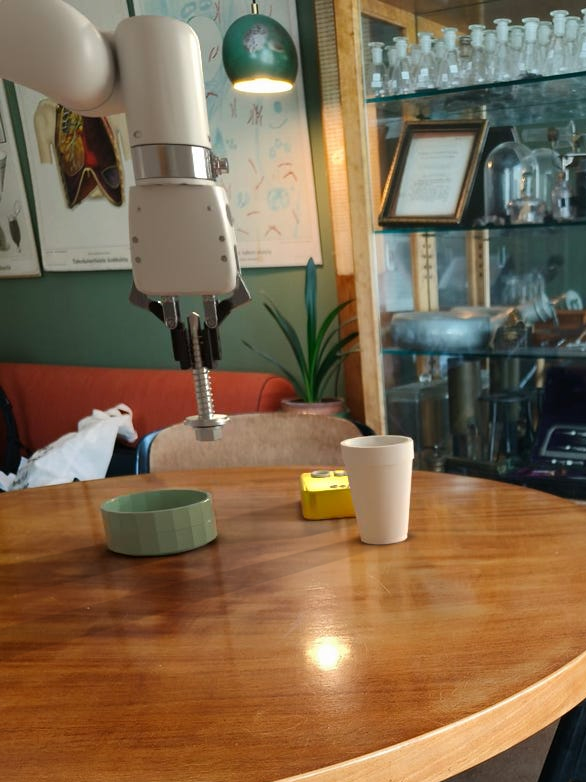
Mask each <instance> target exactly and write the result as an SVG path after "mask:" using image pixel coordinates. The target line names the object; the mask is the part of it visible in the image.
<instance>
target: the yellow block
mask: <svg viewBox="0 0 586 782" xmlns="http://www.w3.org/2000/svg"><path fill="white" fill-rule="evenodd" d="M298 485H299V495H300V503H301V504H300V505H301V513H302V517H303V518H304V519H306V520H311V521H317V520H318V521H319V520H331V519H341V518H356V515H355V510H354V506H353V501H352V496H351V492H350V487H349V483H348V478H347V473H346V469H341V470H327V469H319V470H314V471H311V472H304V473H301V474H300V475H299V476H298Z"/></svg>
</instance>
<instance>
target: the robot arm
mask: <svg viewBox="0 0 586 782" xmlns="http://www.w3.org/2000/svg"><path fill="white" fill-rule="evenodd" d="M201 54H202V53H201V47H200V41H199V38H198V35H197V34H196V32H195V30H194V29H193V28H192V27H191V26H190V25H189V24H188V23H186V22H185V21H182V20H179V19H178V18H174V17H170V16H164V15H156V14H155V15H154V14H141V15H139V14H138V15H133V16H130V17H126V18H124V19H122V20H121V21H119V22H118V24H117V26H116V28H115V29H114V31H113V30H106V29H103V28H101V27H100V26H97V25H94V24H93V23H92V22H91V20H90V19H88V18H87V17H86V16H85V15H83V14H82V13H81V12H80V11H79V10H78V9H76V8H75V7H74V6H72V5H70V4H69V3H68V2H66V1H64V0H0V78H1V79H4V80H6V81H9V82H12V83H14V84H17V85H20V86H22V87H25V88H27V89H30V90H32V91H35V92H37V93H39V94H41V95H43V96H45V97H47V98H49V99H50V100H52V101H54V102H55V103H57V104H58V105H60V106H61V107H63V108H65V109H67V110H69V111H71V113H75V114H76V115H79V116H82V117H89V118H102V117H109V116H110V117H111V116H115V115H121V114H124V115H125V121H126V128H127V135H128V142H129V148H130V156H131V162H132V163H131V164H132V170H133V176H134V184H135V185H131V186H129V187H128V209H127V210H128V213H127V214H128V239H129V252H130V253H129V254H130V262H131V264H130V265H131V270H132V280H131V281H132V282H131V286H130V288H129V293H128V297H127V298H128V299H127V301H128V303H129V304H130V305H131V306H134V307H137V308H139V309H141V310H144V311H147V312H150V313H152V314H153V315H154V316H155V318H157V319H158V320H159V321H160V322H162V323H163V324H164V325H165V327H166V328H167V329H169V331H170V338H171V345H172V352H173V353H172V354H173V359H174V361H175V362H179V366H180V370H181V371H188V370H191V369H192V364H190V363H192V361H191V358H189V357H191V353H190V352H189V351H190V347H189V346H188V345H189V340H188V339H189V331H188V327H186V323H185V321H183V312H182V305H181V298H180V296H201V300H202V307H203V308H202V309H203V315H204V322H203V328H202V329H201V333H202V341H203V349H204V357H205V364H206V368H208V370H215V369H217V368H218V367H219V362H218V361H222V360H223V351H222V342H221V335H220V334H221V333H220V327H221V326H222V325H223V322H224V321H225V320H226V319H227V318H228V316H229V315H230V314H231V313H232V312H233V311H235V310H237V309H239V308H241V307H243V306H245V305H247V304H250V303H251V302H252V300H253V296H252V294H251V291H250V290H249V288H248V285H247V284H246V282H245V280H244V278H243V276H242V268H241V262H240V254H239V249H238V243H237V237H236V232H235V231H236V230H235V225H234V221H233V216H232V210H231V207H230V204H229V200H228V196H227V192H226V190H225V187H222V186H218V185H217V184H216V183H217V181H218V180H217V178H219V176H221V175H223V174H229V173H230V164H229V160H228V158H227V157H220V156H216V154H215V153H214V152H213V151H212V141H211V134H210V125H209V117H208V108H207V99H206V89H205V81H204V80H205V79H204V73H203V64H202V63H203V62H202V55H201ZM230 294H232V295H231V296H229V297H227V298H225V299H222V300H221V301H220V295H230ZM150 296H153V297H157V296H158V297H161V301H160V300H157V299H155V298H152V297H150Z"/></svg>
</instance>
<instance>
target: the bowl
mask: <svg viewBox="0 0 586 782" xmlns="http://www.w3.org/2000/svg"><path fill="white" fill-rule="evenodd" d="M99 508H100V513H101V518H102V524H103V529H104V534H105V539H106V543H107V549H108V550H110V551H111V552H114V553H116V554H117V553H118V554H122V555H126V556H133V557H157V556H167V555H174V554H180V553H184V552H187V551H192V550H195V549H198V548H200V547H203V546H205V545H207V544H209V543H210V542H212V541H214V540H215V539H216V538H217V536H218V534H219V533H218V528H217V520H216V513H215V505H214V500H213V495H212V494H211V493H210V492H209V491H206V490H203V489H193V488H165V489H154V490H153V489H152V490H144V491H138V492H133V493H127V494H122V495H119V496H115V497H112V498H110V499H107V500H105V501H104V502H102V503H101V504H100V505H99Z"/></svg>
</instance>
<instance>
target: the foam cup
mask: <svg viewBox="0 0 586 782" xmlns="http://www.w3.org/2000/svg"><path fill="white" fill-rule="evenodd" d="M340 452H341V453H340V454H341V462H342V463H343V464H344V468H345V469H344V470H346V473H347V478H348V483H349V487H350V492H351V496H352V501H353V506H354V510H355V515H356V517H355V519H356V523H357V524H356V525H357V529H358V533H359V536H360V541H361V542H363V543H365V544H369V545H389V544H390V545H391V544H396V543H400V542H403V541H405V540H406V539H407V538H408V532H409V519H410V505H411V504H410V503H411V489H412V474H413V459H415V452H414V440H413V439H412V437H411V436H410V437H409V436H404V435H391V434H390V435H388V434H387V435H385V434H383V435H368V436H358V437H353V438H348V439H344V440H343V441H340Z"/></svg>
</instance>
